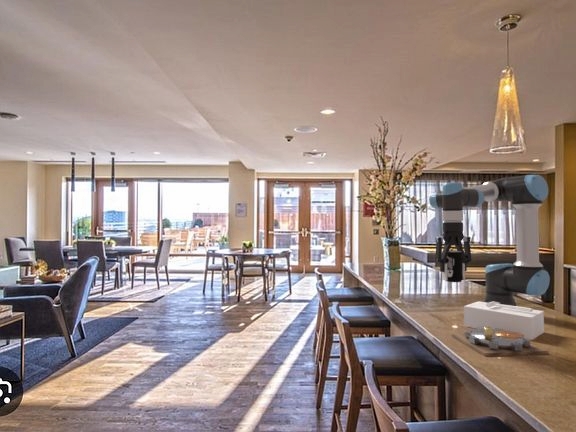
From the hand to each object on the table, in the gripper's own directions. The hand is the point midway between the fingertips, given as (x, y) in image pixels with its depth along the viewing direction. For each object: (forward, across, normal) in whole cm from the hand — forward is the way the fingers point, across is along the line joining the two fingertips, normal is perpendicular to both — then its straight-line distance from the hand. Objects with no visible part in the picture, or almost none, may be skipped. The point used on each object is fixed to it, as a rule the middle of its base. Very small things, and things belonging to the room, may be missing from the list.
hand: (453, 279), depth 150 cm
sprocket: (+20, -7, +15) cm, 26 cm away
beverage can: (+1, 0, 0) cm, 1 cm away
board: (+21, -7, +15) cm, 27 cm away
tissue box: (+21, -22, -2) cm, 31 cm away
